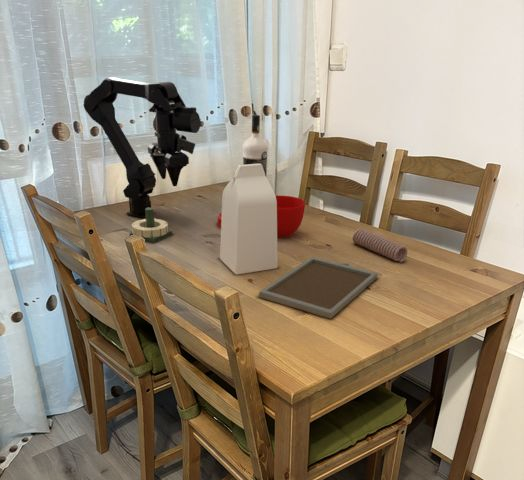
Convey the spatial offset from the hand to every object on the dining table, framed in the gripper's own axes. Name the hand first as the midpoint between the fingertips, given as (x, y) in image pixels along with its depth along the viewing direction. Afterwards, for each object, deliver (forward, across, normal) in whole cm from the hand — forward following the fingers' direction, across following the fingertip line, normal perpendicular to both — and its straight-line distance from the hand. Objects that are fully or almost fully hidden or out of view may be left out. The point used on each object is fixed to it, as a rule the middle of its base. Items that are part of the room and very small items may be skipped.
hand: (169, 182), depth 173 cm
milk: (+12, -42, -5) cm, 44 cm away
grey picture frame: (+12, -63, -15) cm, 66 cm away
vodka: (+12, +1, -31) cm, 33 cm away
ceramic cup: (+12, -24, -26) cm, 38 cm away
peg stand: (+12, -11, +11) cm, 20 cm away
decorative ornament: (+12, -13, -16) cm, 24 cm away
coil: (+12, -51, -43) cm, 68 cm away
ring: (+11, -11, +11) cm, 19 cm away
